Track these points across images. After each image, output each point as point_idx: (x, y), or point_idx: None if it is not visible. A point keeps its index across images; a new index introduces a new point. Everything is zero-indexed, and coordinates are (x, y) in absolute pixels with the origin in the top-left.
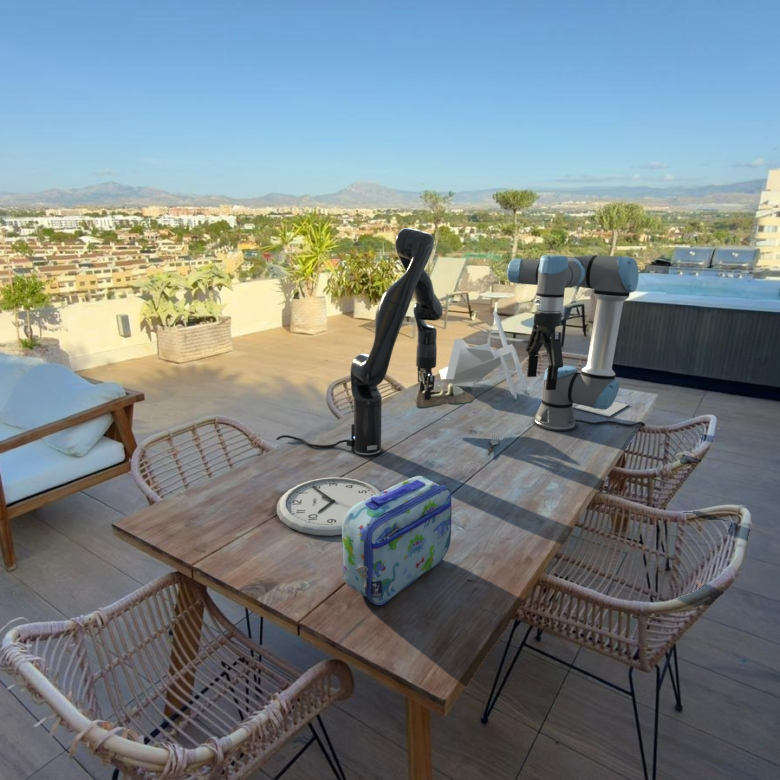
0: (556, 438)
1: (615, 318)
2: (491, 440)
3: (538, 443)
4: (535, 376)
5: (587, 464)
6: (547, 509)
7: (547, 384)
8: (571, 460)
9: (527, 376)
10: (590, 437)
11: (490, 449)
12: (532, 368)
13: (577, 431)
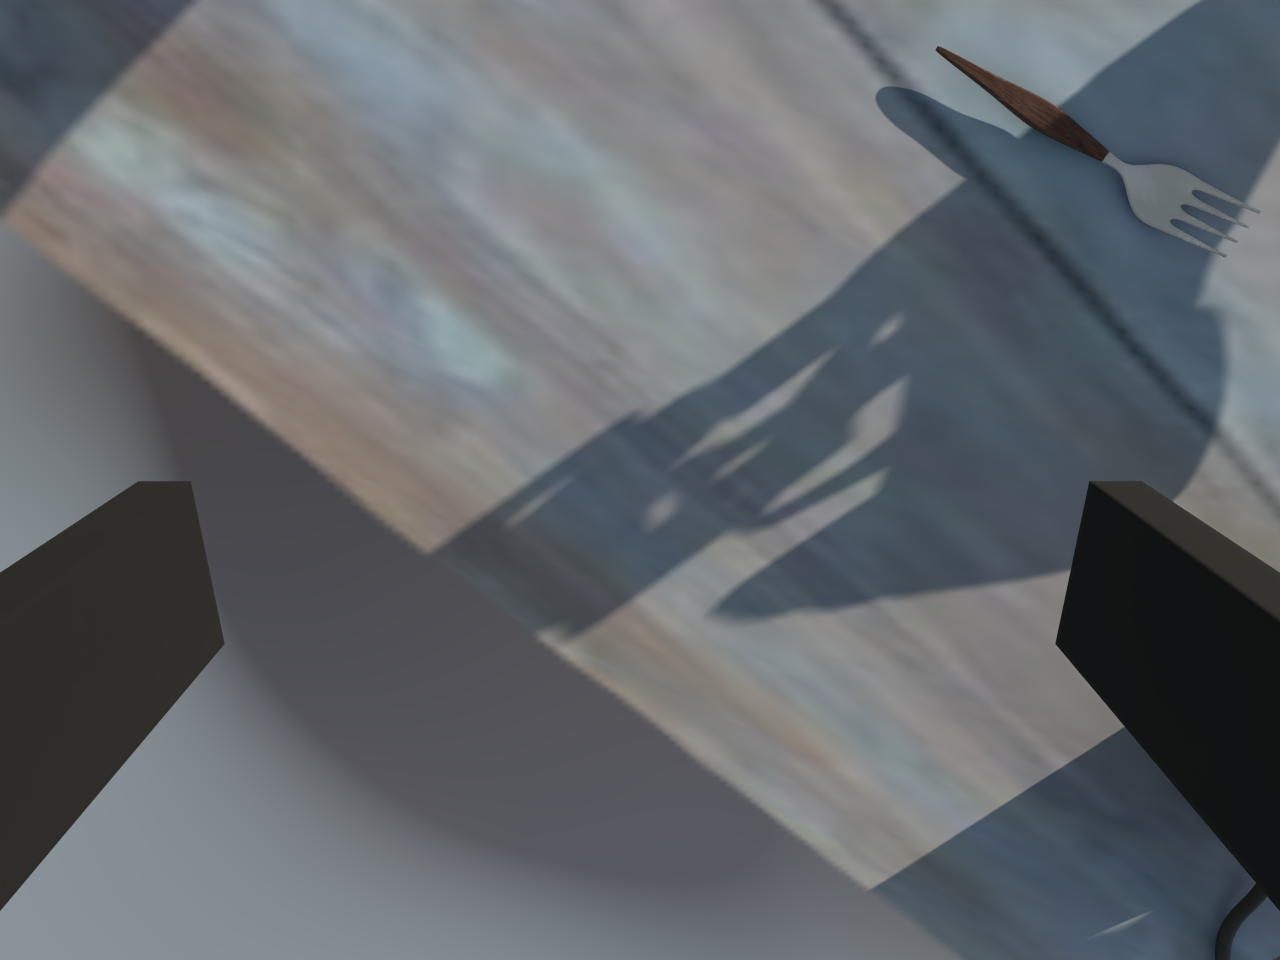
0: None
1: None
2: (1198, 180)
3: (1063, 514)
4: (1059, 633)
5: (711, 658)
6: (166, 184)
7: (66, 535)
8: (777, 599)
9: (1113, 483)
10: (1054, 833)
11: (1031, 104)
12: (1181, 659)
13: (1160, 808)
